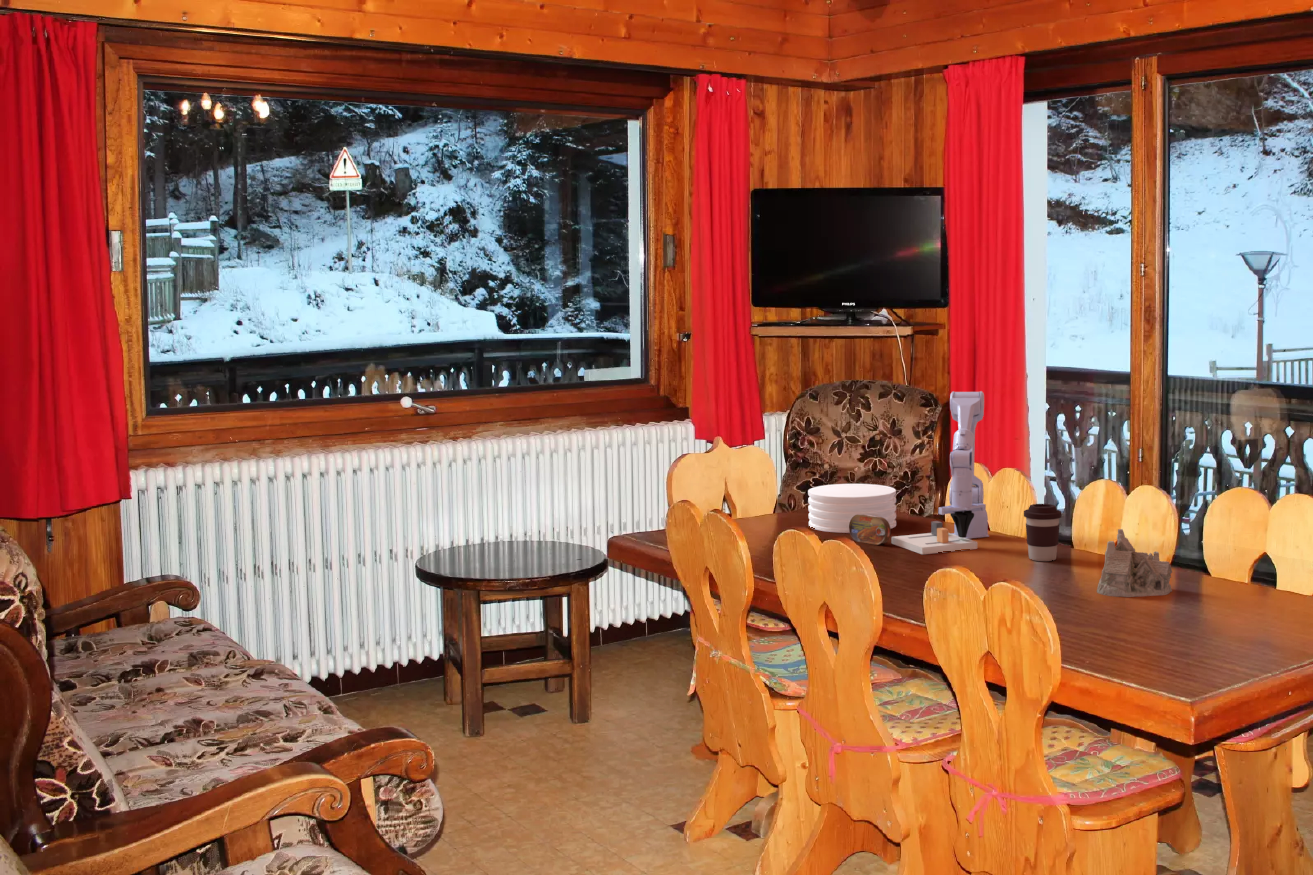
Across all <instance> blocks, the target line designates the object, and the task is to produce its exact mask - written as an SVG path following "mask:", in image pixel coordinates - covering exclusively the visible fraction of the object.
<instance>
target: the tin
mask: <svg viewBox="0 0 1313 875" xmlns="http://www.w3.org/2000/svg"><path fill="white" fill-rule="evenodd" d="M849 531H850V533H849V534H850V537H851V538H852V540H854V541H855V542H856V543H862V544H867V545H868V544H869V545H873V546H880V545H884V544H886V543H887V542H888V541H889V540H890V538H891V529H890V525H889V523H888V521H887V520H886V519H885V518H883V517H877V516H870V515H855V516H853V517H852V519H851V520H850V523H849Z"/></svg>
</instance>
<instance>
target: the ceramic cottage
mask: <svg viewBox="0 0 1313 875" xmlns="http://www.w3.org/2000/svg"><path fill="white" fill-rule="evenodd" d="M1116 539H1117V545H1116V544H1115V542H1114V540H1112V541H1111V540H1110V541H1109V540H1108V541H1107V545H1106V550H1105V553H1104V556H1105V557H1104V566H1103V569H1102V570H1101V577H1100V579H1099V580H1098V581H1099V582H1098V584H1097V589H1096V593H1097V594H1100V595H1103V596H1107V597H1117V598H1120V597H1121V598H1123V597H1124V598H1131V597H1133V598H1135V597H1150V596H1151V597H1153V596H1155V597H1156V596H1166V595H1169V594H1170V593H1171V592H1173V589H1172V585H1171V584H1170V581H1171V578H1172V573H1173V569H1172V566H1171V563H1170V561H1164V560H1163V561H1162V560H1160V552H1159V551H1153V552H1152V553H1151V552H1149V553H1148V552H1143V551H1142V552H1141V551H1140V552H1139V551H1136V549H1135V548H1134V546H1133V545H1132V543H1131V542H1130V540H1129V538H1127V536H1126V535H1125V532H1124V530H1123V528H1119V529H1117V535H1116Z"/></svg>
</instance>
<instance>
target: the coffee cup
mask: <svg viewBox="0 0 1313 875" xmlns="http://www.w3.org/2000/svg"><path fill="white" fill-rule="evenodd" d="M1023 517H1024V518H1025V519H1026V520H1025V521H1026V522H1025V530H1026V532H1025V533H1026V543H1027V551H1028V559H1030V560H1031V559H1032V560H1031V561H1035V562H1053V561H1055V560H1056V559H1057V554H1058V545H1059V534H1060V519H1061V518H1062V510H1060V509H1059V510H1058V509H1057V506H1056V505H1054V504H1051V503H1032V504H1030V505H1029V506H1028V509H1024V511H1023ZM1052 560H1053V561H1052Z"/></svg>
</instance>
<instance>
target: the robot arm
mask: <svg viewBox="0 0 1313 875" xmlns="http://www.w3.org/2000/svg"><path fill="white" fill-rule="evenodd" d="M949 396H950V398H949V410H950V412H951V417H952V420H953V421H955V422H957V427H958V430H956V431H955V432H954V434H953V442H952V451H950V454H949V466H950V475H951V481H950V485H949V495H948V497H949V505H946V506H945V505H944V506H940V507H938V515H942V516H944V515H947V514H948V515H950V517H951V519H952V521H953V523H954V524H953V525H954V532H952V533H951V534H954V535H957V536H959V537H961V538H966V539H970V540H972V539H977V538H978V539H980V538H988V537H990V534H989V533H988V532H989V531H988V530H989V529H988V528H989V526H988V524H989V523H988V521H989V520H988V519H989V517H988V512H987V507H986V506H987V504H985V503H984V500H985V499H984V496H985V495H984V482H983V481H982V480H981V479H980V478H979V477H978V476H976V475H975V449H976V448H975V447H976V446H975V442H976V427H977V424H978V422H980V421H982V420H983V419H984V418H983V417H984V416H985V415H984V414H985V412H984V411H985V394H984V392H983V391H982V390H980V391H954V390H953V391H951V393H950V395H949Z"/></svg>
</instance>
